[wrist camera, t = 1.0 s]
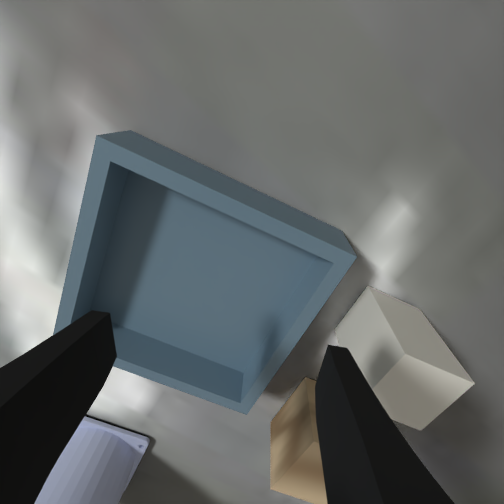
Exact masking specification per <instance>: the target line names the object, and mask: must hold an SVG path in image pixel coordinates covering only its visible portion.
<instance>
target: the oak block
mask: <svg viewBox="0 0 504 504" xmlns="http://www.w3.org/2000/svg"><path fill="white" fill-rule="evenodd" d="M316 382H317V381H314V380H312V379H309V378H307V377H305V378H304V379H303V381H302V382H301V383H300V385H299V386H298V387H297V389H296V390H295V391H294V393H293V394H292V395H291V396H290V398H289V399H288V400H287V402H286V403H285V404H284V406H283V407H282V408H281V409H280V411H279V412H278V413H277V415H276V416H275V417H274V419H273V420H272V421H271V489H272V490H275V491H278V492H281V493H284V494H287V495H290V496H293V497H296V498H299V499H302V500H305V501H308V502H311V503H314V504H327V496H326V489H325V482H324V475H323V468H322V460H321V453H320V446H319V439H318V431H317V424H316V408H315V385H316Z"/></svg>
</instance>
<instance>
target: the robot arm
mask: <svg viewBox="0 0 504 504" xmlns="http://www.w3.org/2000/svg"><path fill="white" fill-rule="evenodd" d="M116 358H117V353H116V347H115V340H114V334H113V328H112V322H111V316H110V313H108V312H101V311H95V310H92V311H90V312H88V313H87V314H85V315H83V316H82V317H80V318H79V319H77V320H76V321H74V322H73V323H71V324H70V325H68V326H67V327H65V328H64V329H62V330H60V331H59V332H57V333H56V334H54V335H53V336H51V337H50V338H48V339H47V340H45V341H43V342H42V343H40V344H39V345H37V346H36V347H34V348H33V349H31V350H29V351H28V352H26V353H25V354H23V355H21V356H20V357H18V358H16V359H15V360H13V361H11V362H10V363H8V364H6V365H5V366H3V367H1V368H0V504H119V502H120V499H121V497H122V494H123V492H125V490H126V488H127V486H128V484H129V482H130V480H131V478H132V476H133V474H134V472H135V470H136V468H137V466H138V465H139V463H140V461H141V459H142V457H143V455H144V453H145V451H146V449H147V447H148V445H149V442H150V440H149V438H148V437H145V436H142V435H139V434H136V433H134V432H131V431H128V430H125V429H122V428H119V427H116V426H113V425H110V424H107V423H104V422H101V421H98V420H95V419H92V418H89V417H86V416H85V415H86V413H87V412H88V410H89V409H90V407H91V405H92V404H93V402H94V400H95V399H96V397H97V396H98V394H99V392H100V391H101V389H102V387H103V385H104V383H105V381H106V379H107V377H108V375H109V373H110V371H111V369H112V367H113V364H114V362H115V360H116ZM315 408H316V424H317V431H318V439H319V446H320V453H321V460H322V468H323V475H324V482H325V489H326V496H327V504H454V502H453V501H452V500H451V499H450V498H449V496H448V495H447V494H446V493H445V491H444V490H443V489H442V488H441V486H440V485H439V484H438V483H437V481H436V480H435V479H434V478H433V476H432V475H431V474H430V472H429V471H428V470H427V469H426V467H425V466H424V465H423V463H422V462H421V461H420V459H419V458H418V457H417V455H416V454H415V453H414V451H413V450H412V448H411V447H410V446H409V444H408V443H407V441H406V440H405V439H404V437H403V436H402V434H401V433H400V431H399V430H398V429H397V427H396V426H395V424H394V423H393V421H392V420H391V418H390V417H389V415H388V414H387V412H386V410H385V409H384V407H383V406H382V404H381V403H380V401H379V400H378V398H377V397H376V395H375V393H374V392H373V390H372V388H371V387H370V385H369V383H368V382H367V380H366V379H365V377H364V375H363V373H362V372H361V370H360V368H359V367H358V365H357V363H356V361H355V360H354V358H353V356H352V354H351V353H350V351H349V350H348V348H345V347H339V346H332V345H328V347H327V350H326V353H325V356H324V360H323V363H322V366H321V369H320V372H319V375H318V378H317V382H316V385H315Z"/></svg>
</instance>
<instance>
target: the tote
mask: <svg viewBox="0 0 504 504" xmlns="http://www.w3.org/2000/svg"><path fill="white" fill-rule="evenodd" d="M356 258H357V256H356V254H355V252H354V251H353V249H352V247H351V245H350V244H349V242H348V240H347V239H346V237H345V235H344V233H343V232H342V231H341V230H339V229H337V228H335V227H333V226H331V225H329V224H327V223H325V222H322V221H320V220H318V219H316V218H314V217H312V216H310V215H308V214H306V213H304V212H301V211H299V210H297V209H295V208H293V207H291V206H289V205H287V204H285V203H283V202H280V201H278V200H276V199H274V198H272V197H270V196H268V195H266V194H264V193H262V192H259V191H257V190H255V189H253V188H251V187H249V186H247V185H245V184H243V183H240V182H238V181H236V180H234V179H232V178H230V177H228V176H226V175H224V174H222V173H219V172H217V171H215V170H213V169H211V168H209V167H207V166H205V165H203V164H201V163H198V162H196V161H194V160H192V159H190V158H188V157H186V156H184V155H182V154H180V153H177V152H175V151H173V150H171V149H169V148H167V147H165V146H163V145H161V144H158V143H156V142H154V141H152V140H150V139H148V138H146V137H144V136H142V135H140V134H137V133H135V132H133V131H131V130H129V131H123V132H116V133H109V134H103V135H97V136H96V140H95V145H94V149H93V154H92V159H91V163H90V168H89V172H88V177H87V182H86V186H85V191H84V195H83V200H82V205H81V209H80V214H79V218H78V223H77V228H76V232H75V237H74V241H73V246H72V251H71V255H70V260H69V264H68V269H67V274H66V278H65V283H64V287H63V292H62V297H61V301H60V306H59V310H58V315H57V319H56V324H55V329H54V333H53V335H54V334H56V333H57V332H59V331H60V330H62V329H64V328H65V327H67V326H68V325H70V324H71V323H73V322H74V321H76V320H77V319H79V318H80V317H82V316H83V315H85V314H87V313H88V312H90V311H92V310H95V311H101V312H108V313H110V316H111V322H112V328H113V334H114V340H115V347H116V353H117V358H116V360H115V362H114V364H113V366H114V367H117V368H119V369H122V370H125V371H128V372H130V373H133V374H136V375H139V376H141V377H144V378H147V379H150V380H152V381H155V382H158V383H161V384H163V385H166V386H169V387H172V388H174V389H177V390H180V391H183V392H185V393H188V394H191V395H194V396H196V397H199V398H202V399H205V400H207V401H210V402H213V403H216V404H218V405H221V406H224V407H227V408H229V409H232V410H235V411H238V412H240V413H243V414H246V415H247V414H248V412H249V411H250V409H251V408H252V406H253V405H254V404H255V402H256V401H257V399H258V398H259V396H260V395H261V394H262V392H263V391H264V389H265V388H266V386H267V385H268V384H269V382H270V381H271V379H272V378H273V376H274V375H275V374H276V372H277V371H278V369H279V368H280V366H281V365H282V364H283V362H284V361H285V359H286V358H287V356H288V355H289V354H290V352H291V351H292V349H293V348H294V346H295V345H296V344H297V342H298V341H299V339H300V338H301V336H302V335H303V334H304V332H305V331H306V329H307V328H308V326H309V325H310V324H311V322H312V321H313V319H314V318H315V316H316V315H317V314H318V312H319V311H320V309H321V308H322V306H323V305H324V304H325V302H326V301H327V299H328V298H329V296H330V295H331V294H332V292H333V291H334V289H335V288H336V286H337V285H338V284H339V282H340V281H341V279H342V278H343V276H344V275H345V274H346V272H347V271H348V269H349V268H350V266H351V265H352V264H353V262H354V261H355V259H356Z"/></svg>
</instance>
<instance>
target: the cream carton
mask: <svg viewBox="0 0 504 504" xmlns="http://www.w3.org/2000/svg"><path fill="white" fill-rule="evenodd" d="M335 333H336V336H337V339H338V343H339V346H340V347H345V348H348V350H349V351H350V353H351V354H352V356H353V358H354V360H355V361H356V363H357V365H358V367H359V368H360V370H361V372H362V373H363V375H364V377H365V379H366V380H367V382H368V383H369V385H370V387H371V388H372V390H373V392H374V393H375V395H376V397H377V398H378V400H379V401H380V403H381V404H382V406H383V407H384V409H385V410H386V412H387V414H388V415H389V417H390V418H391V419H392V420H394V421H397V422H400V423H402V424H405V425H407V426H410V427H412V428H415V429H418V430H420V431H421V430H422V429H424V428H425V427H426V426H427V425H428V424H429V423H430V422H432V421H433V420H434V419H435V418H436V417H437V416H438V415H440V414H441V413H442V412H443V411H444V410H445V409H446V408H448V407H449V406H450V405H451V404H452V403H453V402H454V401H456V400H457V399H458V398H459V397H460V396H461V395H462V394H464V393H465V392H466V391H467V390H468V389H469V388H470V387H472V386H473V385H474V384H475V383H474V382H473V380H472V379H471V378H470V376H469V375H468V374H467V372H466V371H465V370H464V368H463V367H462V366H461V364H460V363H459V361H458V360H457V359H456V357H455V356H454V355H453V353H452V352H451V351H450V349H449V348H448V347H447V345H446V344H445V343H444V341H443V340H442V339H441V337H440V336H439V335H438V333H437V332H436V330H435V329H434V328H433V326H432V325H431V324H430V322H429V321H428V320H427V318H426V317H425V316H424V314H423V313H422V312H421V310H420V309H418V308H416V307H414V306H412V305H410V304H407V303H405V302H403V301H401V300H399V299H396V298H394V297H392V296H390V295H388V294H385V293H383V292H381V291H379V290H377V289H374V288H372V287H370V286H367V287H366V288H365V290H364V291H363V292H362V294H361V295H360V296H359V298H358V299H357V300H356V302H355V303H354V304H353V306H352V307H351V308H350V310H349V311H348V312H347V314H346V315H345V316H344V318H343V319H342V320H341V322H340V323H339V324H338V326H337V327H336V328H335Z"/></svg>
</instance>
